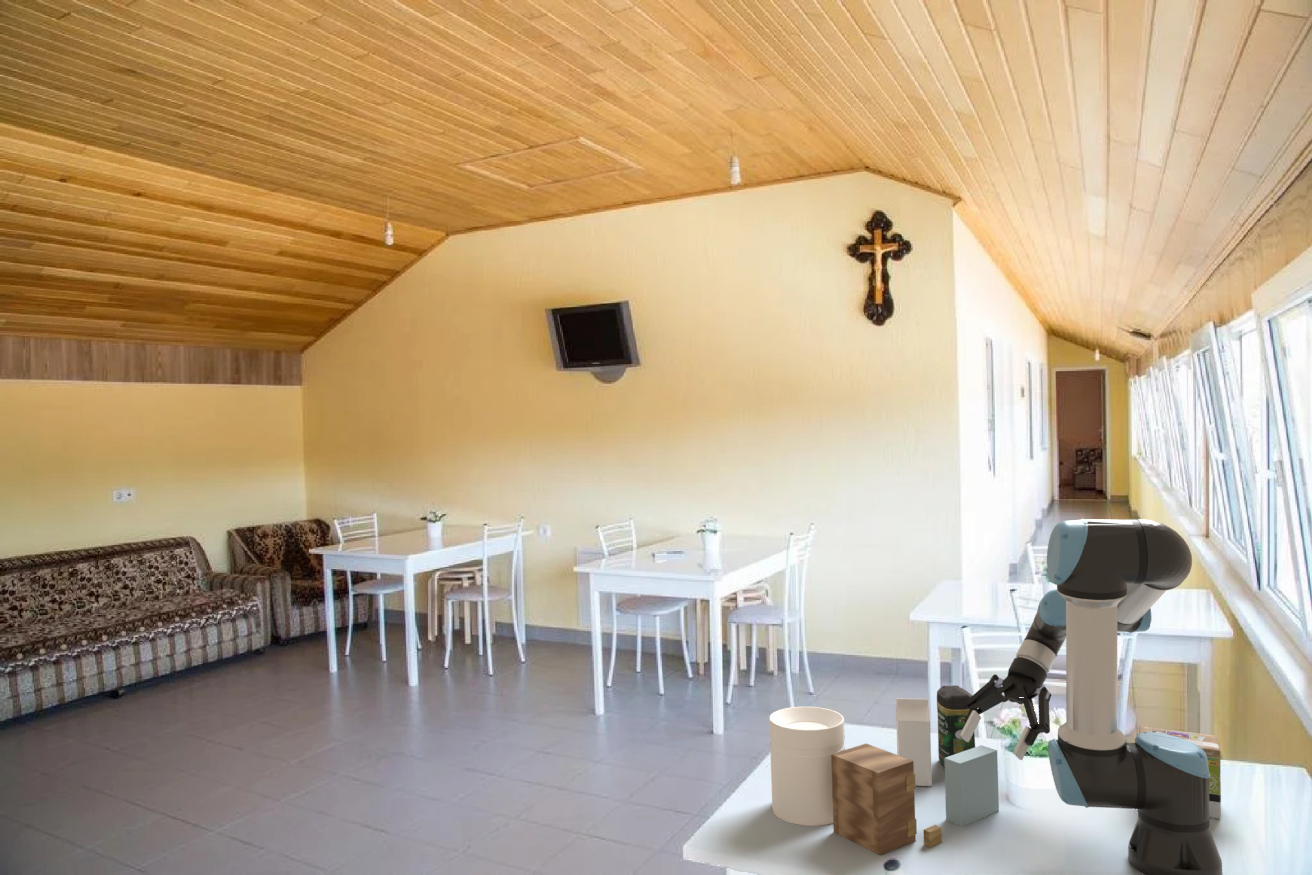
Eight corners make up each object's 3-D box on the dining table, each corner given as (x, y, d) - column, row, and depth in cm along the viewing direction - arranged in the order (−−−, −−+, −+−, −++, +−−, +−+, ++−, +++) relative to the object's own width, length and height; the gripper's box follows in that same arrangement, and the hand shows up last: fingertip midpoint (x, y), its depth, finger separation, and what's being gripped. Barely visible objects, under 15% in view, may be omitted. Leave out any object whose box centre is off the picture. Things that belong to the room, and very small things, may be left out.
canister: (789, 789, 211) (786, 702, 211) (857, 802, 203) (854, 712, 202) (760, 816, 197) (757, 723, 197) (831, 831, 189) (828, 734, 189)
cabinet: (941, 842, 183) (939, 761, 182) (894, 862, 175) (892, 778, 175) (879, 814, 196) (877, 739, 196) (833, 831, 189) (831, 754, 189)
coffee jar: (934, 758, 227) (932, 683, 227) (966, 757, 227) (964, 682, 227) (947, 773, 217) (944, 695, 217) (980, 772, 217) (978, 693, 217)
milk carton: (931, 787, 210) (929, 703, 209) (899, 785, 211) (897, 703, 211) (929, 775, 217) (926, 694, 216) (897, 773, 218) (895, 693, 218)
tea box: (1138, 808, 195) (1137, 738, 195) (1139, 790, 204) (1137, 724, 204) (1222, 820, 188) (1220, 748, 188) (1218, 801, 197) (1217, 732, 197)
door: (998, 811, 196) (997, 750, 196) (961, 826, 190) (960, 763, 189) (983, 804, 200) (981, 745, 199) (946, 819, 193) (944, 757, 193)
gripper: (1090, 687, 198) (1049, 774, 190) (992, 663, 219) (951, 740, 211) (1075, 667, 195) (1033, 754, 187) (976, 645, 216) (935, 722, 208)
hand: (989, 747), depth 199 cm, fingers open, 13 cm apart
